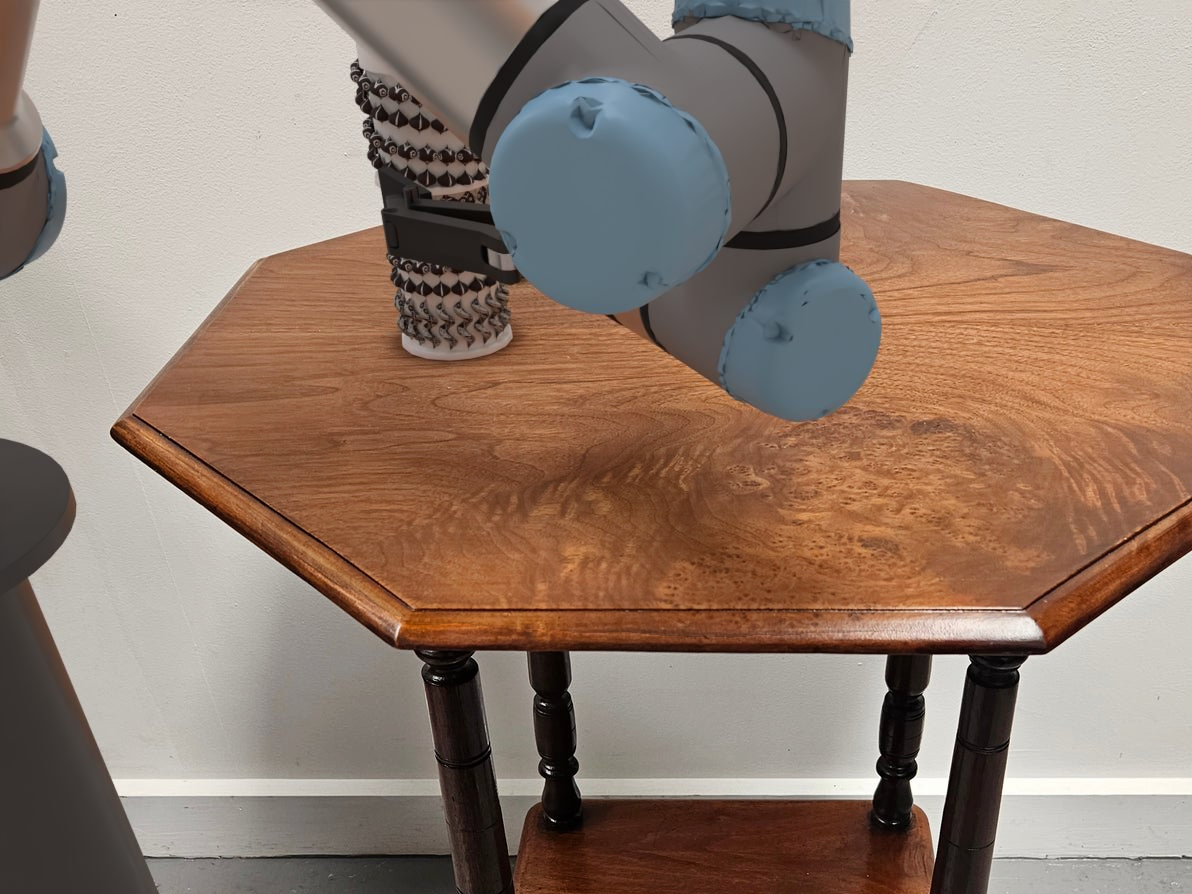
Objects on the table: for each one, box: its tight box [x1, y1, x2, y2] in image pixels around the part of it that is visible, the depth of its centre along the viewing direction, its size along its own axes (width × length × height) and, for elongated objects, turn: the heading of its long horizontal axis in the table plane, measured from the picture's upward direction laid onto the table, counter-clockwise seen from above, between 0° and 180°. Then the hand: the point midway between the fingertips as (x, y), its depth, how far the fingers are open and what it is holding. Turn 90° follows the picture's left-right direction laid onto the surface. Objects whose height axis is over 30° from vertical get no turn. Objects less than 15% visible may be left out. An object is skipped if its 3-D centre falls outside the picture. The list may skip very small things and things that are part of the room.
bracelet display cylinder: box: [349, 42, 514, 362], centre depth 88 cm, size 9×9×25 cm
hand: (484, 172), depth 82 cm, fingers open, 13 cm apart
